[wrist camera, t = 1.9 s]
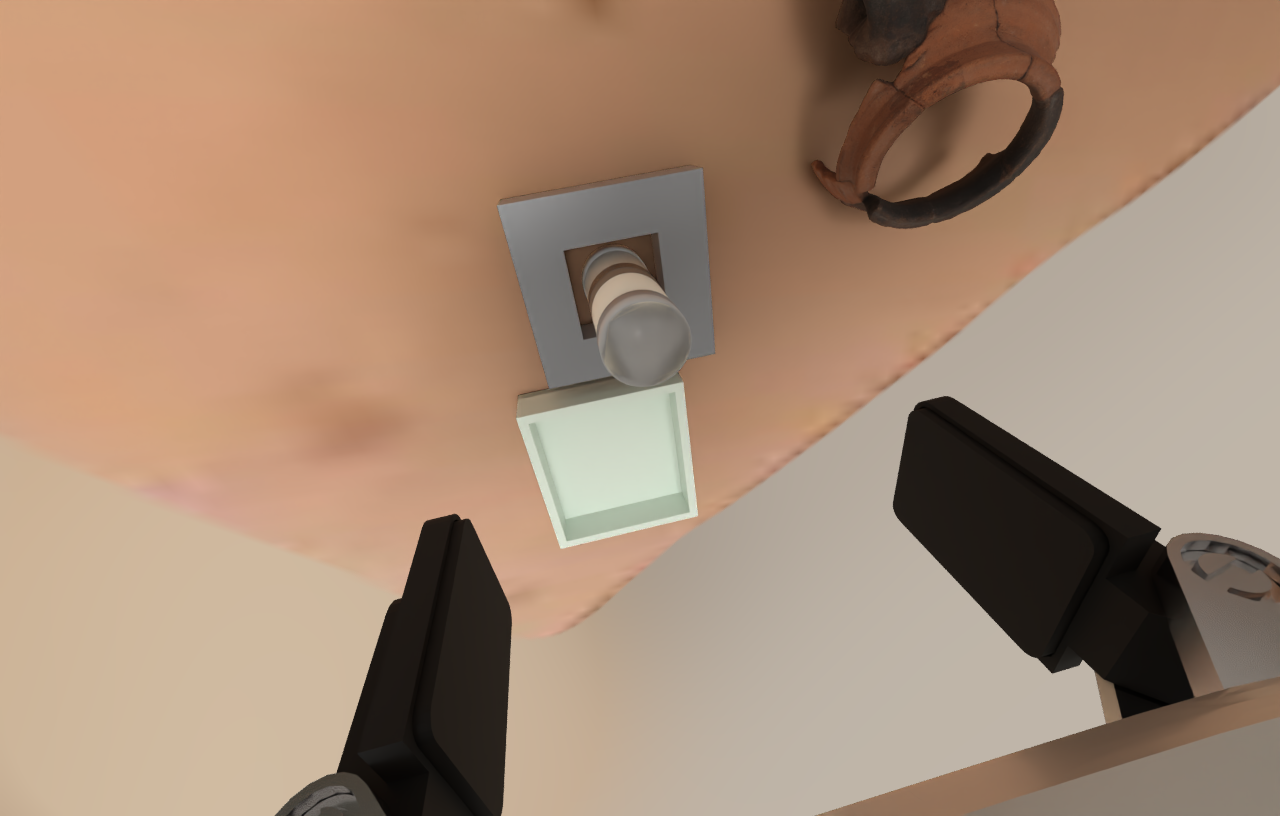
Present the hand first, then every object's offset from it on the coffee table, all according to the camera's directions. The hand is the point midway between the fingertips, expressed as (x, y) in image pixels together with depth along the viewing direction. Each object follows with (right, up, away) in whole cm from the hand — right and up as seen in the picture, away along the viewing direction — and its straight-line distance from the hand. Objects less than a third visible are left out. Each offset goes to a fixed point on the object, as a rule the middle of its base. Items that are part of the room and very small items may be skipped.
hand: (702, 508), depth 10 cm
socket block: (-3, +9, +14) cm, 17 cm away
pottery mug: (+10, +18, +12) cm, 23 cm away
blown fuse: (-3, +9, +14) cm, 17 cm away
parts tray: (-3, 0, +20) cm, 20 cm away
